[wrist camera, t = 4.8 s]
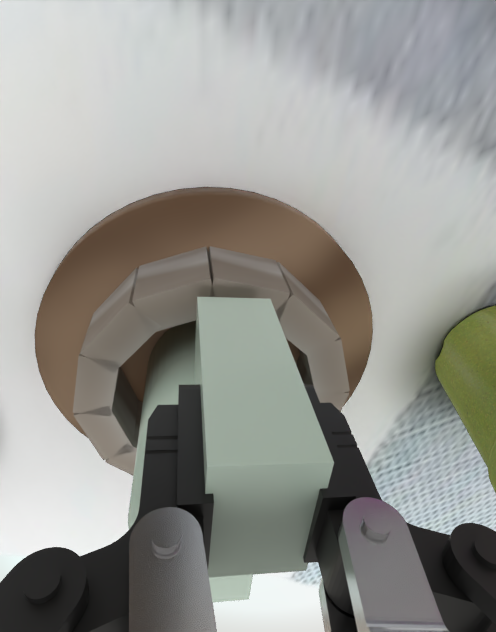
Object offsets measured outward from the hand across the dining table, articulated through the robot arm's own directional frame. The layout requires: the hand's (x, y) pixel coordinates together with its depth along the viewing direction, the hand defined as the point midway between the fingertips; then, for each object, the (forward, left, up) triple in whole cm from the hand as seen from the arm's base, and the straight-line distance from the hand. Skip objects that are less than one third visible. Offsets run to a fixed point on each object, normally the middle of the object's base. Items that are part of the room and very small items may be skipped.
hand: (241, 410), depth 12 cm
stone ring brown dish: (-3, +3, -9) cm, 10 cm away
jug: (-3, +4, -8) cm, 9 cm away
